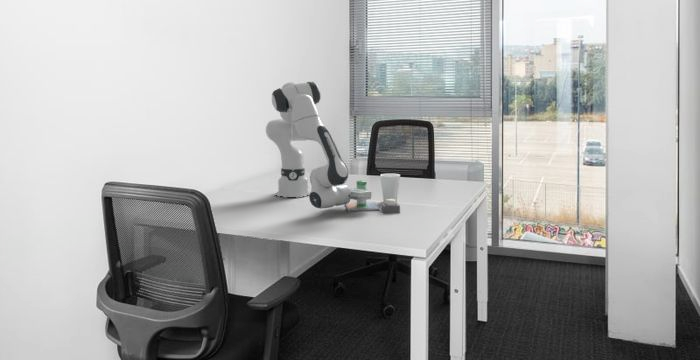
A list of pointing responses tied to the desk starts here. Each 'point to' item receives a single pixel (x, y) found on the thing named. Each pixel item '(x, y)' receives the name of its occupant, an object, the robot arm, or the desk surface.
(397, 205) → the button collar
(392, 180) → the translucent tapered cup
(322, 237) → the desk surface
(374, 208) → the picture board
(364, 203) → the green canister
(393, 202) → the button
